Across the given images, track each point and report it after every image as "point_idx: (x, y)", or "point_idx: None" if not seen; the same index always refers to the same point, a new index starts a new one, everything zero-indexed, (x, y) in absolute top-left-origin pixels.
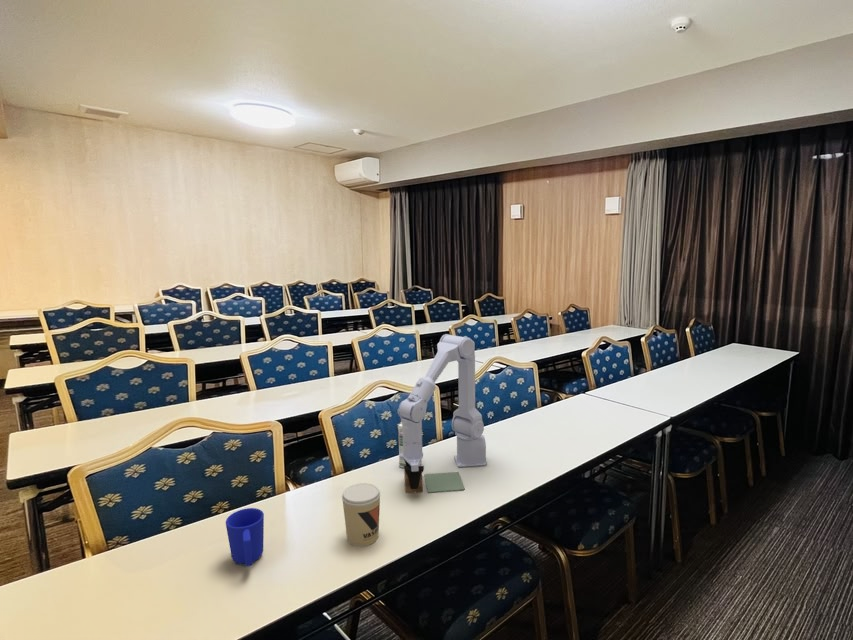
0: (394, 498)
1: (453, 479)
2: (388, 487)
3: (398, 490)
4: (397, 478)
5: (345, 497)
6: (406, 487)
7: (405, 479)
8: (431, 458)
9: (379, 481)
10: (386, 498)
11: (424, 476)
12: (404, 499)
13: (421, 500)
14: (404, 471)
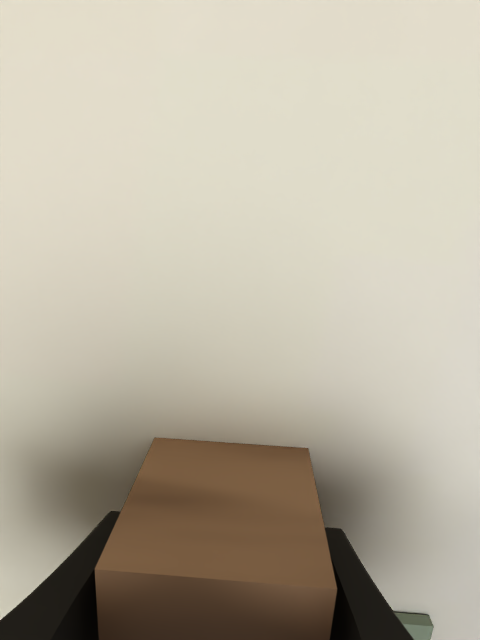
0: (74, 333)
1: None
2: (293, 297)
3: (214, 384)
4: (454, 402)
5: None
6: (138, 480)
7: (105, 545)
8: None
9: (454, 210)
10: (80, 259)
11: (405, 615)
12: (51, 414)
13: (28, 530)
14: (284, 580)
